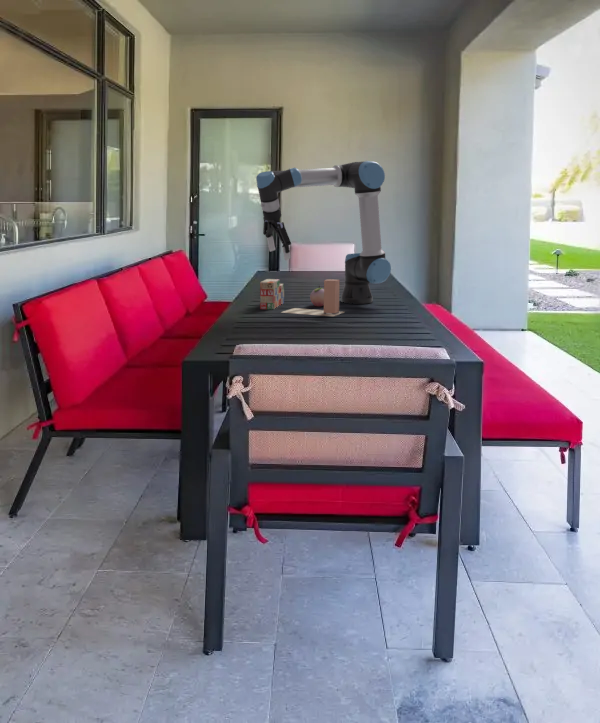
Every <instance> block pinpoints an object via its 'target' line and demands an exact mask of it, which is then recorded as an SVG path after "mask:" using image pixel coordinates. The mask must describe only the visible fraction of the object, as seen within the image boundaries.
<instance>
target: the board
mask: <svg viewBox="0 0 600 723" xmlns="http://www.w3.org/2000/svg"><path fill="white" fill-rule="evenodd" d="M281 313H283V314H284V313H285V314H296V315H297V314H298V315H307V316H308V315H311V316H320V317H321V316H323V317H324V316H325V317H337V316H340V314H344V313H345V311H340V310H339V313H337V314H324V309H315V308H314V309H309V308H299V307H294V308H293V307H292V308H290V309H286V310H283V311H281V312H280V314H281Z"/></svg>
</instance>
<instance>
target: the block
mask: <svg viewBox="0 0 600 723" xmlns="http://www.w3.org/2000/svg"><path fill="white" fill-rule="evenodd" d="M340 281H341V280H340V279H332V278H328V279H325V280H323V284H324V285H323V289H324V305H323V310H324V314H337V313H339V311H340V285H341V284H340Z"/></svg>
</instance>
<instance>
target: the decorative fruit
mask: <svg viewBox="0 0 600 723" xmlns="http://www.w3.org/2000/svg"><path fill="white" fill-rule="evenodd" d="M309 298H310V301H311V303H312V304H313V306H315V307H322V306H323V307H324V287H320V285H318V288H314V289H313V290H312V291H311V292H310V294H309Z"/></svg>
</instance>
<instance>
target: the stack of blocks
mask: <svg viewBox="0 0 600 723" xmlns="http://www.w3.org/2000/svg"><path fill="white" fill-rule="evenodd" d="M259 285H260V286H259V288H260V290H259V296H260V298H259V299H260V300H259V309H260V310H272V309H274V310H276V309H277V308H278V306H279V305H280V306H282V305H283V304H285V284H284V283H281V279H278V278H276V279H275V278H266V279H264V280H262V281H260V283H259ZM281 304H282V305H281ZM280 306H279V307H280ZM276 307H277V308H276ZM275 308H276V309H275Z"/></svg>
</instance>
